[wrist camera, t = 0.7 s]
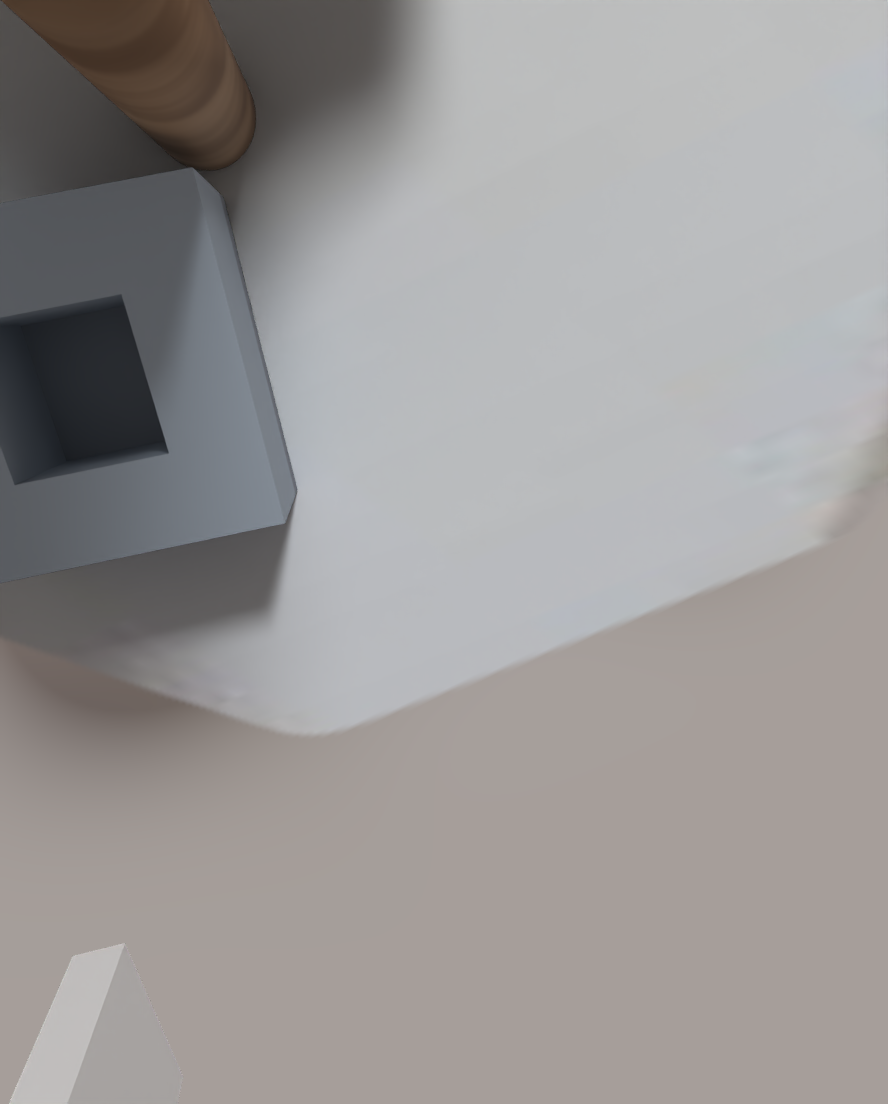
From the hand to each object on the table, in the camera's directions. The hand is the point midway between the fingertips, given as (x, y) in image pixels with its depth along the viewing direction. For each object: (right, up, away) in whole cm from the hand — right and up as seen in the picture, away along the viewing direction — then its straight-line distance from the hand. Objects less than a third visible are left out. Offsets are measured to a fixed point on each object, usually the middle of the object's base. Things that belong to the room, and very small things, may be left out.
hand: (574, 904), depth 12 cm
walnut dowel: (-11, +22, +18) cm, 31 cm away
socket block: (-15, +12, +20) cm, 28 cm away
